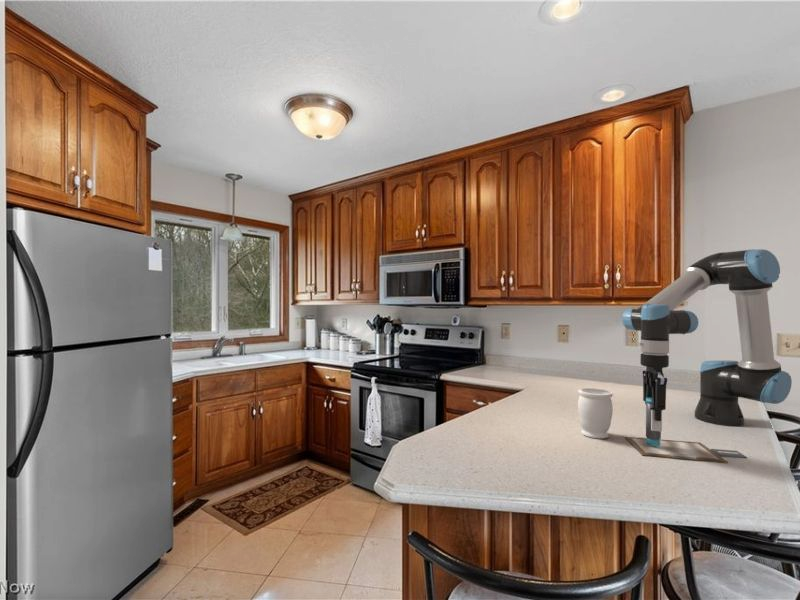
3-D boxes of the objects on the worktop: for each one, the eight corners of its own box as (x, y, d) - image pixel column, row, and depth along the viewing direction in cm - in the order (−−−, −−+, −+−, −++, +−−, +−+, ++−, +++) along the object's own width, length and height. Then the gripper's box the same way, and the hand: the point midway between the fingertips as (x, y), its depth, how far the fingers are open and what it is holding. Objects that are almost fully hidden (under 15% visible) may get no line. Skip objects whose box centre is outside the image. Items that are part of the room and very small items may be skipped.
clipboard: (700, 443, 133) (700, 441, 133) (728, 463, 117) (728, 460, 117) (625, 437, 138) (625, 435, 138) (642, 455, 122) (642, 453, 122)
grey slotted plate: (737, 452, 126) (737, 450, 126) (746, 458, 121) (746, 456, 121) (710, 450, 127) (710, 448, 127) (719, 456, 122) (719, 454, 122)
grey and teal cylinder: (658, 442, 130) (658, 397, 130) (663, 446, 126) (663, 401, 126) (643, 440, 131) (643, 397, 131) (648, 445, 127) (648, 400, 127)
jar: (576, 436, 138) (577, 392, 138) (578, 428, 147) (579, 386, 147) (612, 442, 133) (612, 396, 133) (612, 433, 142) (612, 390, 142)
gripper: (632, 349, 137) (631, 419, 138) (651, 356, 121) (650, 436, 121) (657, 350, 136) (656, 421, 136) (679, 357, 119) (678, 438, 119)
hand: (653, 428), depth 128 cm, fingers closed on grey and teal cylinder, 4 cm apart
